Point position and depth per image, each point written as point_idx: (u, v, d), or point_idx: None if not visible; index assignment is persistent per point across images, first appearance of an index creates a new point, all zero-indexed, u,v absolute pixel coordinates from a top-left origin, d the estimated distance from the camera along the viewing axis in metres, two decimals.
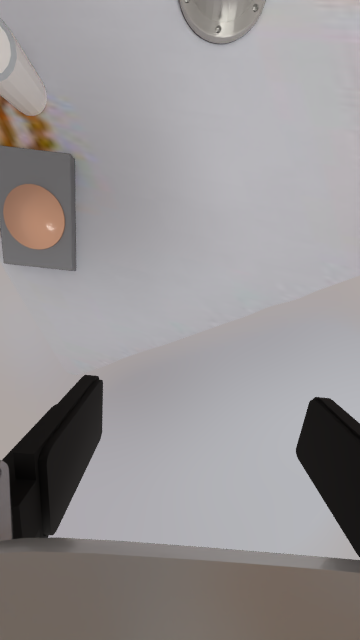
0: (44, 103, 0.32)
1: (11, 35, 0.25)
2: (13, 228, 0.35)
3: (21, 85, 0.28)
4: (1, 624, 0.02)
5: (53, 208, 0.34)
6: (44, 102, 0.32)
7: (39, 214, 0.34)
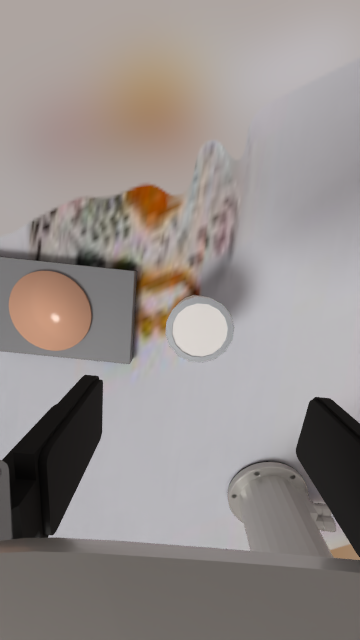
0: None
1: (210, 359, 0.21)
2: (31, 281, 0.25)
3: None
4: (1, 624, 0.02)
5: (64, 339, 0.26)
6: None
7: (55, 320, 0.26)
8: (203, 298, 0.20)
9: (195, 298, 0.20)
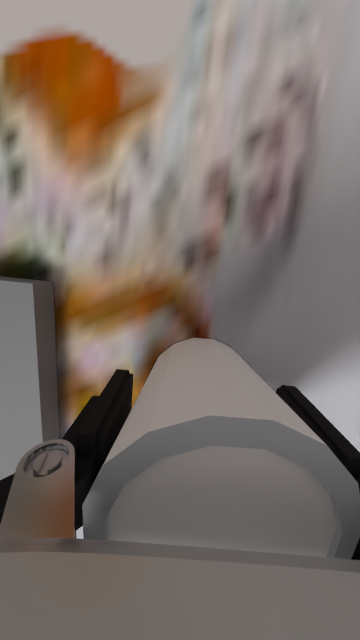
0: None
1: None
2: None
3: None
4: (1, 624, 0.02)
5: None
6: None
7: None
8: (241, 422, 0.04)
9: (204, 422, 0.04)
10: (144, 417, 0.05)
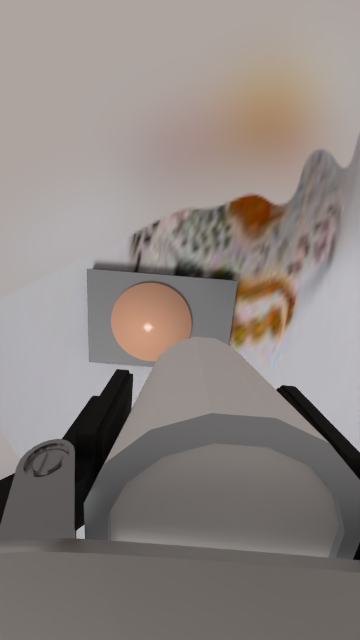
0: None
1: None
2: (135, 293, 0.25)
3: None
4: (1, 624, 0.02)
5: (163, 350, 0.26)
6: None
7: (155, 331, 0.26)
8: (243, 420, 0.04)
9: (206, 420, 0.04)
10: (145, 415, 0.05)
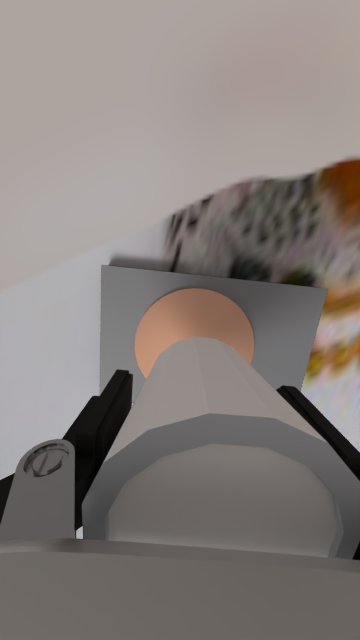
0: None
1: None
2: (174, 304, 0.16)
3: None
4: (1, 624, 0.02)
5: None
6: None
7: None
8: (242, 419, 0.04)
9: (204, 419, 0.04)
10: (144, 415, 0.05)
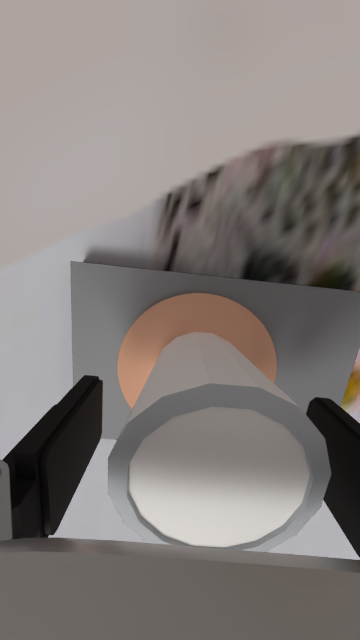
0: None
1: None
2: (169, 314, 0.12)
3: None
4: (1, 624, 0.02)
5: None
6: None
7: None
8: (234, 388, 0.06)
9: (205, 388, 0.06)
10: (157, 389, 0.06)
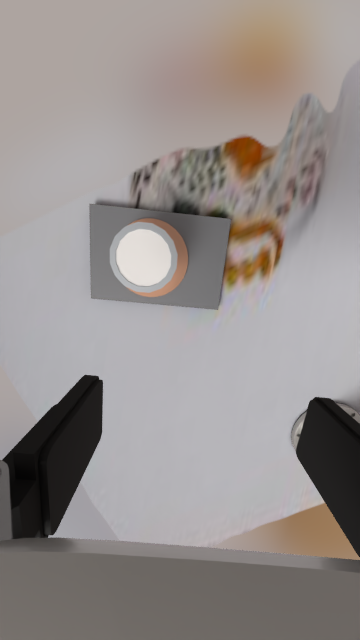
0: None
1: (156, 289, 0.22)
2: None
3: None
4: (1, 624, 0.02)
5: None
6: None
7: None
8: (145, 223, 0.20)
9: (137, 223, 0.20)
10: None
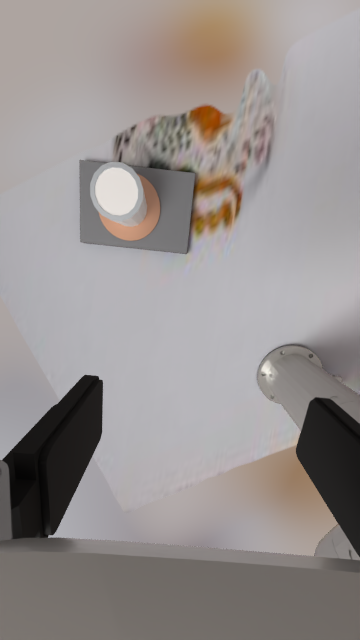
0: None
1: (127, 218, 0.27)
2: None
3: None
4: (2, 624, 0.02)
5: (138, 230, 0.34)
6: None
7: None
8: (117, 163, 0.26)
9: (111, 163, 0.26)
10: None
